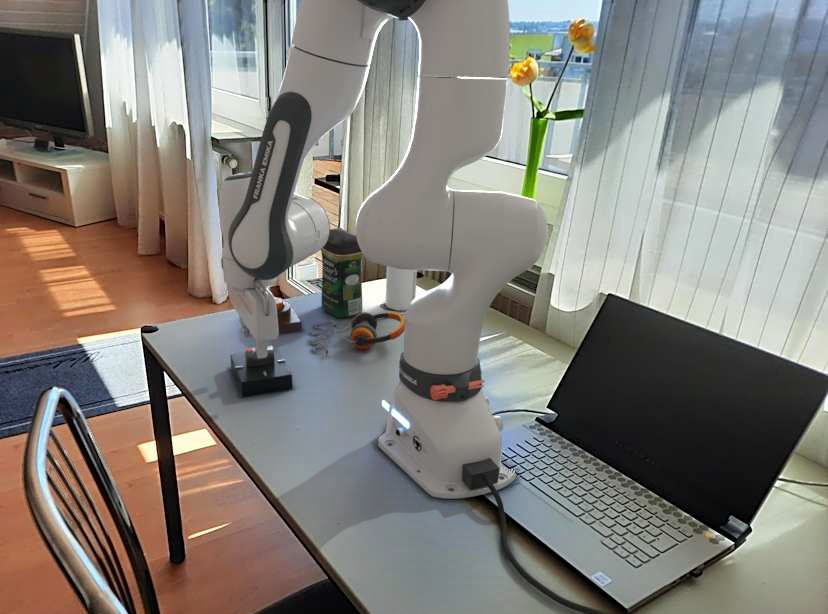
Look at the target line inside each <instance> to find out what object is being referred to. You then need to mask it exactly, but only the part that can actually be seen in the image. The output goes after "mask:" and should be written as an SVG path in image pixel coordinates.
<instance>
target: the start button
mask: <svg viewBox="0 0 828 614" xmlns="http://www.w3.org/2000/svg"><path fill="white" fill-rule="evenodd" d="M274 298H275V301H276V307H277V311H278V310H281V309H283V301H284V299H283V298H281V297H276V296H274Z"/></svg>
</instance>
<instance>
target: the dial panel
mask: <svg viewBox="0 0 828 614" xmlns="http://www.w3.org/2000/svg"><path fill="white" fill-rule="evenodd" d="M273 348H274V347H273ZM274 359H275V364H270V365H263V366H257V367H250V368H247V365H246V360H245V352H240V353H233V354H230V367H231V368H230V369H231V371H232V374H233V376H234V379H235V381H236V384H237V386H238V389H239V392H240V395H241V397H242V398H245V397H251V396H257V395H264V394H270V393H276V392H281V391H282V392H283V391H288V390H293V373H292V372H291V370H290V369H289V366H288V364H287V363H286V359H285V358H283V356H282V354H281V352H280V350H279V348H278V347H276V348H274Z"/></svg>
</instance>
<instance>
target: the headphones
mask: <svg viewBox="0 0 828 614" xmlns="http://www.w3.org/2000/svg"><path fill="white" fill-rule="evenodd" d="M379 319H390V320H395V321H397V322H399V323H400V324H399V325H398V327H397V328H395V329H394V330H392V331H390V332H389V333H388V334H385V335H382V336H378V332H377V328H378V322H377V320H379ZM325 322H333V324H334V325H333V332H334V334H335V335H336V336H337V337H338V338H339V339H344V340H346V341H347V342H350V343H352V344H353V345H354V347H356V348H358V349H359V350H367V349H370V348H372V347H374V345H375V344H378V343H379V344H380V343H384V342H387V341H391V340H392V341H393V340H396V339H397V338H399V337H400V336H401V335H402V334H404V332H405V316H403V314H401V313H399V312H397V311H389V312H379V313H376V314H371V313H370V312H364V311H363V312H361V313H359V314H357V315H356V316H353V319H352V320H351V324H349V325H347V326H346V327H344V328H343V329H341V330H339V329H337V324H336V322H335V320H333V319H326V320H323V321H320V322H318V323H317V324H315V328H317V329H322V330H319V331H315V332H312V333H311V334H310V335H311V336H316V335H317V338H314V339H311V340H310V342H311V343H310V345H313V346H314V345H315V346H314V348H313V349H312V350H313V352H323V351H325V356H326V357H328V354H329V350H328V349H326V348H324V347H327V346H329V345H328V344H331V343H332V340H323V339H327V338H328V336H329V335H331V331H325V330H326V328H325V327H321V326H318V325H320V324H322V323H325ZM350 326H351V332H350V338H351V340H350V339H349V338H347V337H343V336H341V335H339V334H337V332H341V333H342V332H344V331H346V330H347V328H349V327H350ZM318 348H324V349H318ZM316 349H317V350H316Z"/></svg>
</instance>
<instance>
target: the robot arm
mask: <svg viewBox="0 0 828 614" xmlns="http://www.w3.org/2000/svg"><path fill="white" fill-rule="evenodd" d="M509 11H510V9H509V1H508V0H301V1H300V6H299V8H298V12H297V16H296V20H295V24H294V28H293V32H292V38H291V44H290V47H289V54H288V58H287V63H286V67H285V70H284V73H283V78H282V81H281V84H280V87H279V90H278V93H277V95H276V97H275V100H274V102H273V104H272V106H271V109H270V110H269V113H268V116H267V118H266V122H265V124H264V127H263V131H262V134H261V138H260V142H259V146H258V149H257V153H256V157H255V161H254V164H253V168H252V170H251V171H245V172H240V173H239V172H238V173H235V174H232V175H229V176H227V177H225V179H223V180H222V182H221V184H220V189H219V195H218V196H219V198H218V213H219V214H218V216H219V217H218V218H219V228H220V232H221V235H222V238H223V245H222V251H221V258H220V264H221V269H222V273H223V282H224V283H225V284H226V288H227V294H228V298H229V301H230V305H232V307H233V308H234V310H235V311H236V313H237V315H238V318H239V319H238V320H239V322H240V326H241V327H240V328H241V334H242V335H243V337H244V338H249V337H250V338H251V337H253V338H254V340H255V345H254V348H255V354H256V355H257V357H258V358H265V357H267V355H268V353H267V348H268V346H269V344H270V342H275V341H277V340H278V339H279V335H280V334H279V330H278V317H277V307H276V301H275V298H274V297H275V296H274V294H273V293H272V292H271V291H270V290H271V285H273V284H275V283H276V282H277V280H278V276H280V275H281V274H283V273H285V272H286V271H287V270H288V269H290V268H291V267H293V266H295V265H298V264H299V263H301V262H303V261H305V260H306V259H308V258H310V257H311V256H313V255H315V254H317V253H318V252H319V251H321V249H322V248H323V247H324V246H325V245H326V243H327V241H328V239H329V235H330V229H331V224H330V219H329V216H328V214H327V212H326V210H325V209H324V207H323V206H322V205H321V204H320V203H319V202H318V201H316V200H315V199H313V198H312V197H307V196H302V195H300V194H298V193H296V192H295V191H296V188H297V184H298V182H299V178H300V175H301V171H302V168H303V165H304V162H305V160H306V158H307V157H308V155H309V153H310V151H311V150H312V148H314V146H315V145H316V144H317V143H318V142H319V141H320V140H321V139H322V138H323V137H325V135H327V134H328V133H329V132H330V131H331V130H333V129H334V128H336V126H338V125H340V124H341V123H342V122H344V121H345V120H346V119H347V118H349V117H350V116H351V115H352V114H353V113H354V112H355V109H356V107H357V105H358V104H359V101H360V99H361V98H362V97H361V96H362V94H363V92H364V89H365V87H366V83H367V80H368V75H369V71H370V67H371V63H372V59H373V53H374V49H375V45H376V41H377V37H378V35H379V32H380V31H381V29H382V28H383V26H384V25H385V24H386V23H387V22H388V21H390V20H391V19H393V18H395V19H396V20H398V21H401V22H402V21H410V22H412V24H413V25H414V27H415V28H416V29H415V30H416V32H417V35H418V41H419V57H418V72H417V73H418V74H417V75H418V76H417V89H416V102H415V112H414V120H413V128H412V133H411V138H410V142H409V145H408V149H407V151H406V153H405V156H404V158H403V160H402V161H401V163H400V164H399V167H398V168H397V169H396V171H395V172H394V174H392V176H390V178H389V179H388V180H387V181H386V182H385V183H384V184H383V185H382V186H380V187H379V188H378V189H375V191H373V192H371V194H370V195H369V196H368V197H367V198H366V199H365V200H364V201H363V203H362V204H361V206H360V208H359V211H358V212H357V216H356V221H355V235H356V237H357V242H358V244H359V247H360V249H361V251H362V252H363V256H364V257H365V258H366V259H367V260H368V261H369V262H371V263H375V264H377V265H381V266H386V267H387V266H389V267H393V268H398V269H406V270H417V271H426V272H427V271H429V272H447V273H450V276H449V277H448V278H447V279H446V280H445V281H444V282H443V283H442V284H439V285H438V286H435V287H433V288H431V289H427V290H426V291H423V292H421V293H420V294H418V295H417V296H415V299H414V300H413V301H412V302H411V303H410V305H409V306H408V308H407V310H405V314H404V315H405V316H404V319H405V331H404V332H403V335H404V336H403V350H402V351H401V353H400V358H399V362H398V370H399V371H398V378H399V382H398V385H397V387H396V388H395V390H394V391H393V393H392V394H391V396H390V399H389V403H388V402H387V401H386V400H385V399H383V400H382V401H381V406H382V407H383V408H384V409H385V410H386V411H387V419H386V420H387V421H386V428H385V432H384V433H383V434H381V435H379V437H378V440H377V441H378V442H377V446H378V448H379V449H380V450H381V451H382V452H383V453H384V454H385V455H387V456H388V457H389V458H390V459H391V460H392V461H393V462H394V463H395V464H396V465H397V466H398V467H399V468H401V470H403V471H404V473H406V474H407V476H409V477H410V478H411V479H412V480H413V481H414V482H415V483H416V484H417V485H418V486H419V487H420V488H422V489H423V490H424V491H425V492H426V493H427V494H428V495H429V496H431V497H433V498H439V499H454V500H456V499H457V500H458V499H466V498H473V497H478V496H482V495H486V494H490V493H491V494H492V495H493V498H494V499H495V502H496V505H497V510H498V511H497V512H498V516H499V523H500V539H501V541H500V542H501V546H502V549H503V551H504V554H505V556H506V557H507V559H508V561H509V562H510V564H511V565H512V567H513V568H514V569H515V571H516V572H517V573H518V574H519V575H520V576H521V577H522V578H523V579H524V580H525V581H526V582H528V583H529V584H530V585H532V586H533V587H534V588H535V589H536V590H538V591H539V592H541V593H542V594H543V595H545V596H547V597H548V598H550V599H551V600H553V601H554V602H555V603H557V604H560V605H562V606H563V607H566V608H569V609H570V610H574V611H577V612H580V613H582V614H609V612H606V611H603V610H600V609H597V608H592V607H589V606H585V605H583V604H580V603H577V602H574V601H571V600H568V599H567V598H564V597H562V596H560V595H559V594H557V593H555V592H554V591H552V589H549V588H547V587H546V586H545V585H543V584H542V583H541V582H539V581H538V580H537V579H535V578H534V577H533V576H532V575H530V574H529V573H528V572H527V571H526V570H525V569H524V567H522V565H521V564H520V563H519V562H518V561H517V559H516V558H515V556H514V555H513V553H512V551H511V549H510V547H509V543H508V529H507V528H508V527H507V518H506V514H505V513H506V512H505V508H504V503H503V500H502V497H501V495H500V493H499V490H501V489H503V488H505V487H507V486H509V485H510V484H511V483H513V482H514V481H515V479H516V478H517V472H516V473H515V470H516V469H515V470H514V471H513V469H511V471H510V469H509V472H508V469H507V470H506V471H505V469H506V467H505V468H504V469H503V467H501V455H502V448H503V439H502V434H501V432H502V431H503V429H504V421H503V418H502V417H501V416H500V415H494V416H493V413H492V411H491V408H490V399H489V396H488V397H487V396H485V395H484V392H483V390H482V388H484V387H485V386H484V384H483V383H485V379H483V378H482V374H483V373H482V367H481V362H480V358H479V350H480V343H481V336H482V332H483V327H484V322H485V318H486V315H487V313H488V310H489V308H490V306H491V304H492V302H493V301H494V300H495V298H496V297H497V295H498V294H499V293H500V292H501V291H502V289H503V288H504V287H506V286H507V285H508V284H509V283H511V281H512V280H513V279H515V278H516V277H518V276H520V275H521V274H523V273H524V272H526V271H529V270H530V269H531V268H533V266H535V264H537V262H538V261H539V259H540V258H541V257H542V255H543V254H544V252H545V250H546V247H547V243H548V239H549V224H548V220H547V216H546V213H545V212H544V210H543V208H542V207H541V205H540V204H539V203H538V201H537V200H536V199H534V198H530V197H526V196H523V195H518V194H514V193H509V192H505V191H490V190H488V191H487V190H468V189H467V190H465V189H453V188H450V187H448V183H449V181H450V179H451V177H452V176H453V175H454V174H455V173H456V172H457V171H459V170H460V169H463V168H464V167H466V166H469V165H471V164H472V163H476V162H478V161H479V160H481V159H483V158H485V157H486V156H488V155H490V154H491V153H492V152H493V151H494V150H495V149H496V147H498V145H499V143H500V140H501V138H502V137H503V127H504V118H505V117H504V116H505V108H506V101H507V100H506V97H507V91H508V80H509V79H508V78H509V68H510V52H511V51H510V50H511V47H510V46H511V43H510V42H511V39H510V38H511V32H510V31H511V29H510V12H509ZM504 463H507V462H504ZM512 471H513V473H512ZM507 472H508V473H507ZM514 473H515V474H514ZM509 474H510V475H509ZM513 475H514V476H513ZM512 476H513V477H512ZM511 477H512V478H511ZM507 480H508V481H507ZM484 488H485V489H484ZM486 488H487V489H486ZM478 490H479V491H478Z"/></svg>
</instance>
